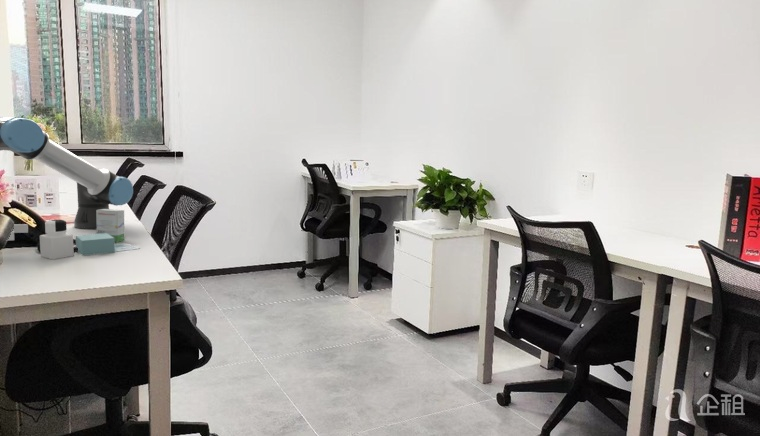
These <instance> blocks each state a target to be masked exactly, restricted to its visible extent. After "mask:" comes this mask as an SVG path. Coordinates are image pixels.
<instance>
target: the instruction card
mask: <svg viewBox="0 0 760 436" xmlns="http://www.w3.org/2000/svg"><path fill="white" fill-rule="evenodd" d="M114 244H115V252H125V251H132V250H133V251H134V250H139V249H141V248H140V247H137V246H135V245H132V244H130V243H126V242H124V243H122V242H121V243H114Z"/></svg>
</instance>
